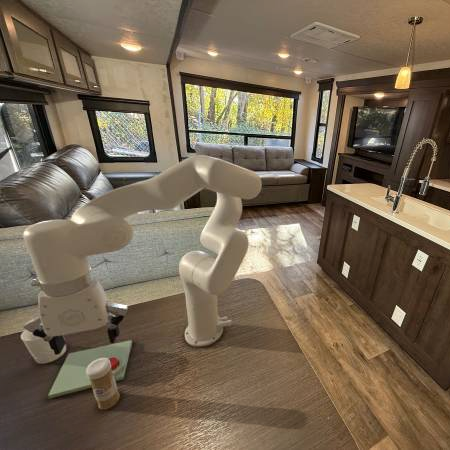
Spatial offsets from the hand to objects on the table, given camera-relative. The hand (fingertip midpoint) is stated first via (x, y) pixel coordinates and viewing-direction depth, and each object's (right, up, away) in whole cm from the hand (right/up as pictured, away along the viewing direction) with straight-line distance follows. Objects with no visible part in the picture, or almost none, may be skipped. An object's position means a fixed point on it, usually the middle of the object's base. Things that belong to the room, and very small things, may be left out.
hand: (88, 343), depth 56 cm
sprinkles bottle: (-2, -19, +8) cm, 21 cm away
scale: (-12, -15, +16) cm, 25 cm away
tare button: (-6, -13, +14) cm, 20 cm away
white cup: (-27, -12, +19) cm, 35 cm away
